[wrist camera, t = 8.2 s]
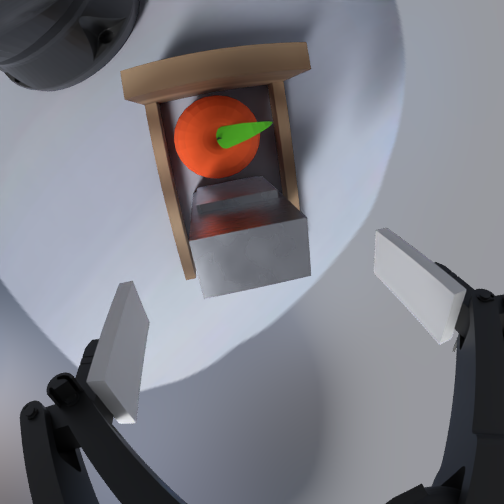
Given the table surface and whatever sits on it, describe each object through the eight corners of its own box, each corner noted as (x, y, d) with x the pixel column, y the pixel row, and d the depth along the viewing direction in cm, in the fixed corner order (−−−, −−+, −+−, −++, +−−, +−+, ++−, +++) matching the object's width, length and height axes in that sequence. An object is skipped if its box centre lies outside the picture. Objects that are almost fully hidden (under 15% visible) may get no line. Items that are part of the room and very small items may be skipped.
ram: (192, 186, 27) (186, 231, 17) (264, 173, 28) (306, 207, 17) (201, 231, 29) (204, 298, 19) (270, 217, 30) (311, 275, 19)
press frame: (145, 86, 23) (120, 71, 15) (274, 64, 24) (306, 42, 16) (186, 270, 31) (184, 323, 23) (297, 247, 32) (329, 291, 24)
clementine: (251, 87, 25) (268, 76, 18) (271, 155, 28) (293, 166, 21) (167, 112, 24) (156, 109, 18) (190, 181, 27) (187, 200, 21)
